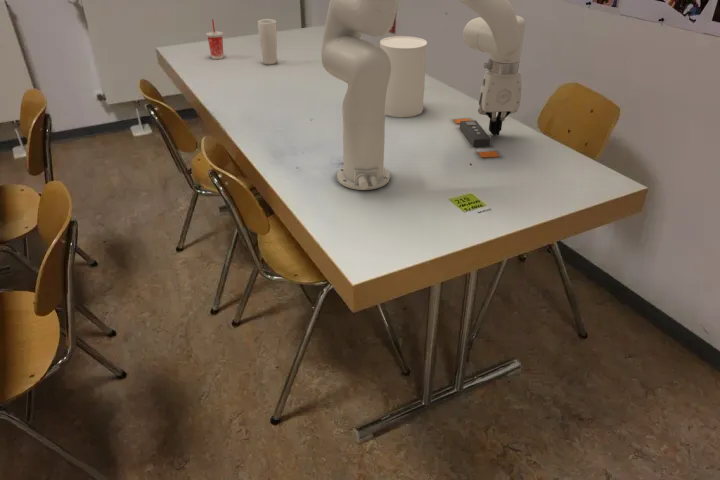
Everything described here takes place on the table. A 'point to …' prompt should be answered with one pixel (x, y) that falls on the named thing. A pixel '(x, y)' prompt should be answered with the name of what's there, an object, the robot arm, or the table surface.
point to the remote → (475, 133)
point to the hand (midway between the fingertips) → (494, 133)
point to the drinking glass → (268, 40)
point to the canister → (405, 75)
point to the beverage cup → (215, 43)
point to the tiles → (482, 154)
